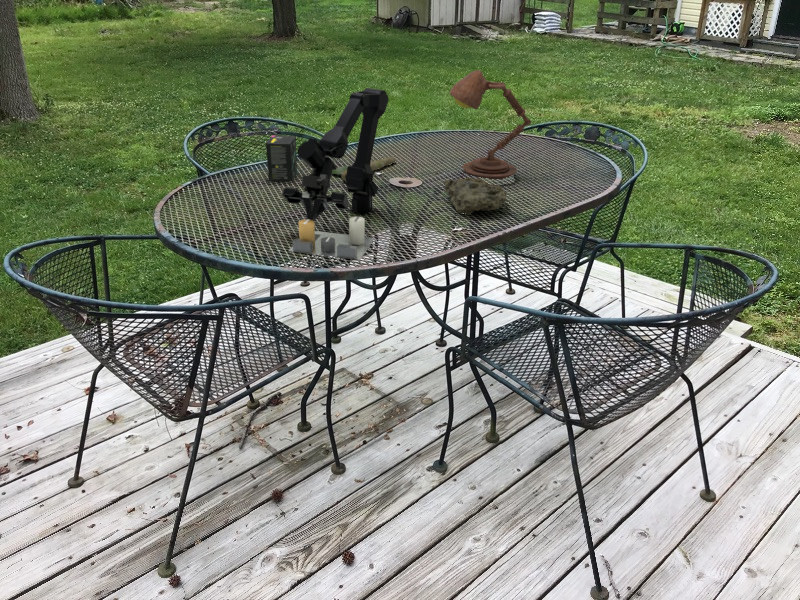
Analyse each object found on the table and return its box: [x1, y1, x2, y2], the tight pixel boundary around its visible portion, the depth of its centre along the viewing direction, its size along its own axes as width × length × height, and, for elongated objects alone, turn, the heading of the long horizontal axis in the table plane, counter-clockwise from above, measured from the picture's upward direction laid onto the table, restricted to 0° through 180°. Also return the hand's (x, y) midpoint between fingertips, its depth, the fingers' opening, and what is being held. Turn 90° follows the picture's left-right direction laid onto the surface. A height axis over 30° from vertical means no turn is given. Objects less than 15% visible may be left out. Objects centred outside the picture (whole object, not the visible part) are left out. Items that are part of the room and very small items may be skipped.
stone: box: [443, 178, 507, 215], centre depth 221 cm, size 25×19×8 cm
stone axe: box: [331, 156, 397, 181], centre depth 253 cm, size 26×5×30 cm
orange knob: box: [298, 218, 316, 247], centre depth 184 cm, size 4×4×7 cm
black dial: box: [321, 237, 335, 252], centre depth 184 cm, size 4×4×3 cm
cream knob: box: [348, 216, 365, 245], centre depth 187 cm, size 4×4×7 cm
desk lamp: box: [449, 69, 532, 179], centre depth 242 cm, size 21×32×40 cm, turn 100°
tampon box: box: [265, 135, 298, 183], centre depth 242 cm, size 11×9×15 cm
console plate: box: [288, 230, 375, 260], centre depth 187 cm, size 16×21×4 cm
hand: (309, 224), depth 186 cm, fingers closed, pressing on orange knob
